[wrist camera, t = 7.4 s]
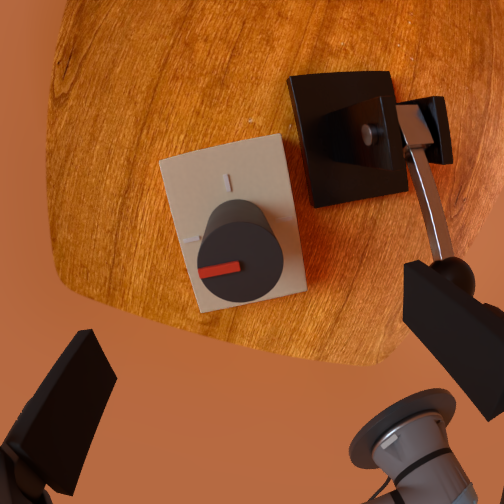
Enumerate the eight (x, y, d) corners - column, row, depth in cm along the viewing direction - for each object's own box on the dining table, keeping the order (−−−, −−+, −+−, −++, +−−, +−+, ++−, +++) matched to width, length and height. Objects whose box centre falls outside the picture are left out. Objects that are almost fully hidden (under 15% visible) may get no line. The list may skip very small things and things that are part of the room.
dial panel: (300, 277, 30) (308, 291, 27) (203, 298, 30) (200, 314, 27) (275, 135, 26) (281, 132, 23) (165, 159, 26) (157, 160, 23)
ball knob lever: (457, 304, 17) (489, 306, 14) (416, 319, 17) (446, 326, 14) (408, 124, 18) (430, 99, 15) (366, 127, 18) (384, 100, 15)
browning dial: (261, 193, 24) (277, 214, 16) (272, 251, 26) (290, 296, 18) (200, 206, 24) (186, 233, 16) (214, 263, 26) (208, 312, 18)
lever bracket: (401, 189, 28) (479, 214, 17) (310, 205, 28) (360, 243, 17) (382, 73, 24) (457, 46, 13) (286, 79, 24) (324, 35, 13)
